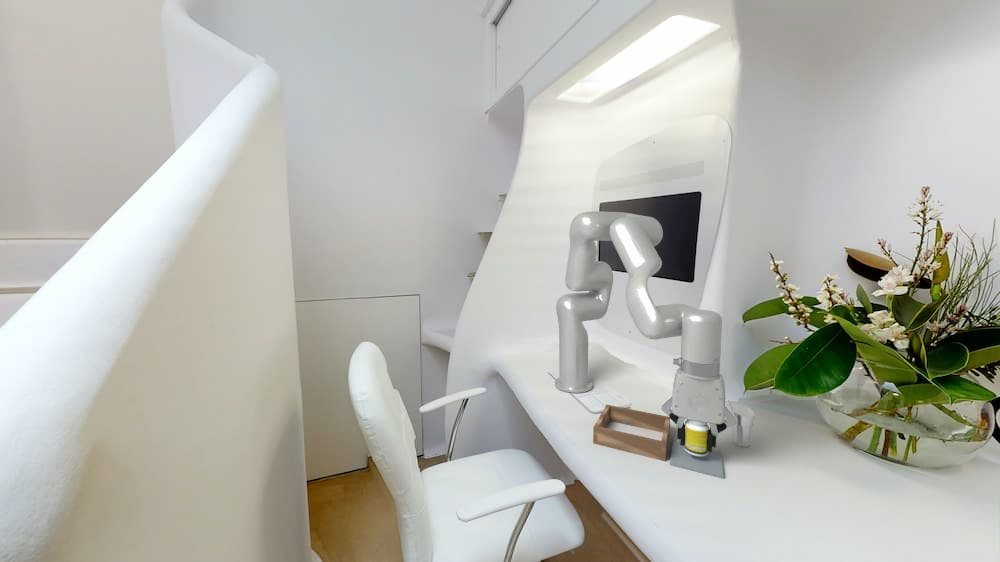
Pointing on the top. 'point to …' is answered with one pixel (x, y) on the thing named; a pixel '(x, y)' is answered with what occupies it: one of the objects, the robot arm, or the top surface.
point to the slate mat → (697, 461)
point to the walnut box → (631, 441)
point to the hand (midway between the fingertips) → (695, 445)
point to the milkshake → (742, 425)
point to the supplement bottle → (696, 437)
